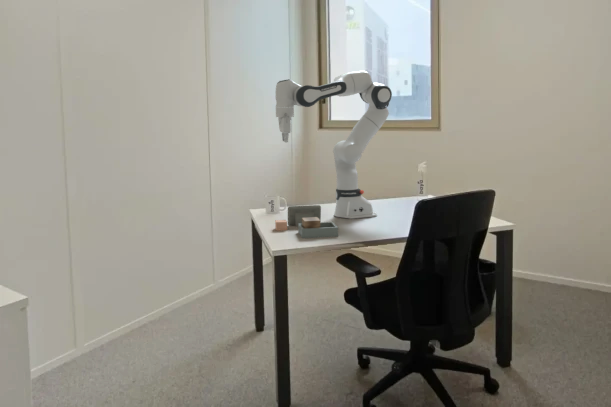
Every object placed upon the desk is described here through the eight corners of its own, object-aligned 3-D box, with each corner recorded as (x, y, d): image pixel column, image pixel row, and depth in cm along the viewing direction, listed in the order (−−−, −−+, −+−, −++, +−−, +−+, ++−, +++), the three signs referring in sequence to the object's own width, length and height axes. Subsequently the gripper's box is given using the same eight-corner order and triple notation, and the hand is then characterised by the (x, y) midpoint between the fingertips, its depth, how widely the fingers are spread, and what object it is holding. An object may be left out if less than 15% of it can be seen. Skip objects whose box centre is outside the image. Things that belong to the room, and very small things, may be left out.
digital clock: (321, 224, 278) (321, 203, 276) (320, 228, 269) (319, 206, 267) (289, 224, 280) (288, 203, 278) (286, 228, 271) (285, 206, 269)
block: (317, 232, 257) (317, 217, 256) (320, 236, 250) (320, 220, 248) (302, 232, 256) (301, 217, 255) (304, 236, 249) (304, 221, 247)
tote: (333, 232, 260) (332, 221, 260) (338, 238, 249) (338, 227, 248) (298, 234, 258) (298, 223, 257) (302, 240, 247) (301, 229, 246)
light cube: (286, 230, 268) (285, 219, 267) (287, 232, 263) (287, 221, 262) (275, 230, 267) (275, 220, 266) (276, 233, 262) (276, 222, 262)
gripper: (293, 113, 268) (293, 142, 270) (289, 113, 288) (289, 140, 290) (280, 113, 267) (280, 143, 270) (276, 113, 287) (277, 140, 290)
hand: (285, 141), depth 280 cm, fingers open, 8 cm apart
